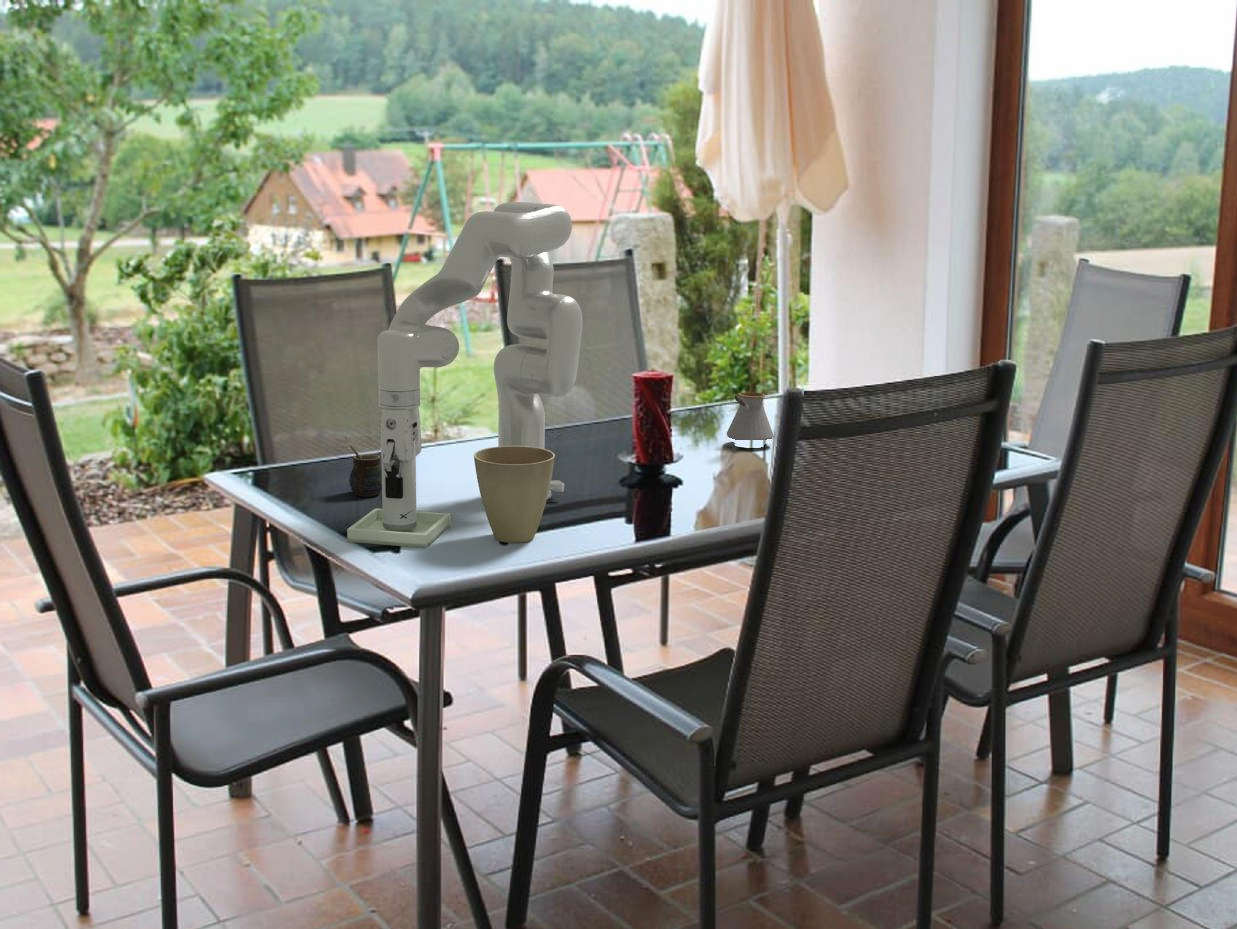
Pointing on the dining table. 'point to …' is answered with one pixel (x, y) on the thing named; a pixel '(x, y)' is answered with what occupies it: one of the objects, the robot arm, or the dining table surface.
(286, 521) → the dining table surface
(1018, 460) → the dining table surface
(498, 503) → the plant pot
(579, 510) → the dining table surface
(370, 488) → the mate gourd
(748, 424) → the coffee pot
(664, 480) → the dining table surface
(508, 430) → the robot arm
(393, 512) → the travel mug
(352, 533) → the tray
